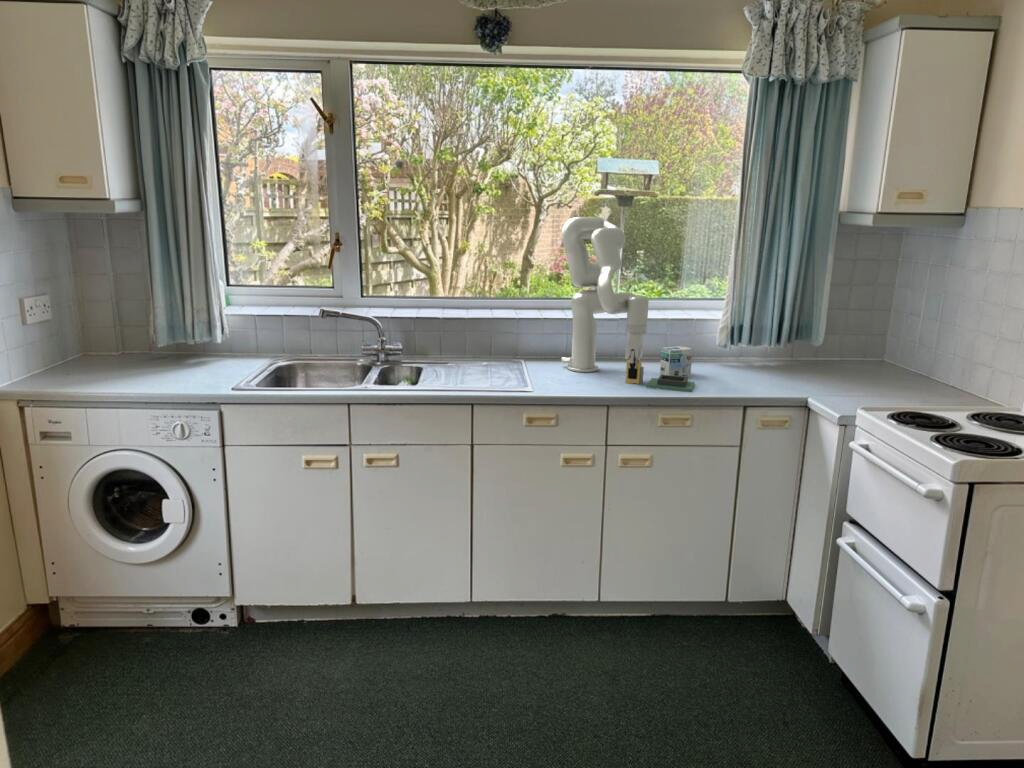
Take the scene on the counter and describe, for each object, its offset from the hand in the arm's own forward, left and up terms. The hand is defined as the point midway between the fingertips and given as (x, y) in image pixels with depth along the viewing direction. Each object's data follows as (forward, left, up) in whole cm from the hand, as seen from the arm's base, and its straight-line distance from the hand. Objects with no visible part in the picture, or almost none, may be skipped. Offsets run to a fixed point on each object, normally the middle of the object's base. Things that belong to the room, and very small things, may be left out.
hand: (633, 376), depth 273 cm
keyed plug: (0, 0, -2) cm, 2 cm away
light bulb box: (+13, +20, -2) cm, 24 cm away
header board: (+14, 0, -2) cm, 14 cm away
